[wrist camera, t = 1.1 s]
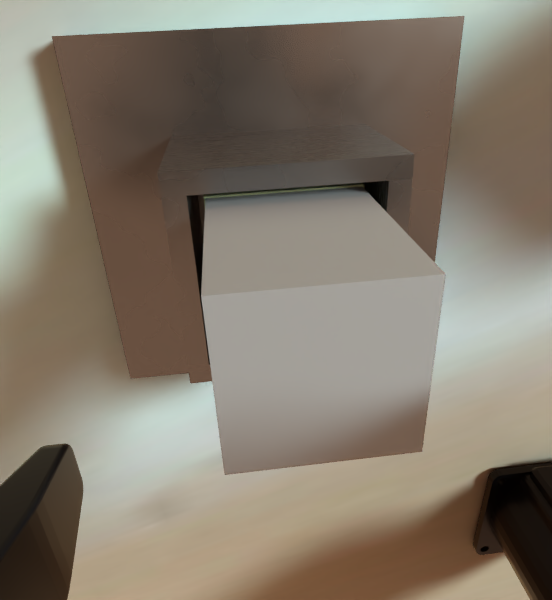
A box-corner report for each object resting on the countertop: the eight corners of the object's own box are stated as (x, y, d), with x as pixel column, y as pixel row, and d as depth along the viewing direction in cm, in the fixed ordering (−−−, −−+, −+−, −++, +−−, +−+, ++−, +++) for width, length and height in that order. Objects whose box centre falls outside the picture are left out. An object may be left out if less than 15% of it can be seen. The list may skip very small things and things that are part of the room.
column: (335, 275, 18) (423, 453, 11) (218, 285, 18) (222, 476, 10) (337, 157, 16) (448, 271, 9) (205, 166, 16) (198, 293, 8)
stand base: (415, 335, 22) (482, 436, 16) (134, 363, 21) (106, 480, 15) (450, 17, 16) (572, 10, 10) (61, 36, 15) (-24, 39, 9)
